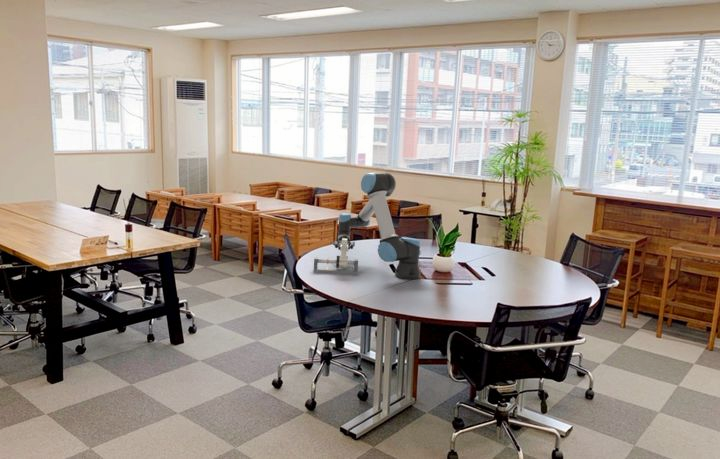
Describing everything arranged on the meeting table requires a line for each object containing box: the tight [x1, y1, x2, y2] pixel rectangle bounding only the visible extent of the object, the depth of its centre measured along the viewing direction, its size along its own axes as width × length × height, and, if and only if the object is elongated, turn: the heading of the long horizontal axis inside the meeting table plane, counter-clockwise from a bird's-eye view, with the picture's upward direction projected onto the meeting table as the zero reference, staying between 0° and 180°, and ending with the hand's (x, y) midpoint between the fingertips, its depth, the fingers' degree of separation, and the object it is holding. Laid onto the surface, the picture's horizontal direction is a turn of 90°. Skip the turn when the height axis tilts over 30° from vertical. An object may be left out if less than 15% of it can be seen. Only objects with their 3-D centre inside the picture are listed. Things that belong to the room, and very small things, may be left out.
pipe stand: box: [312, 257, 359, 276], centre depth 348 cm, size 26×10×8 cm, turn 92°
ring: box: [335, 255, 340, 268], centre depth 348 cm, size 2×7×7 cm, turn 2°
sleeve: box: [338, 238, 349, 268], centre depth 347 cm, size 5×7×18 cm
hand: (344, 249), depth 341 cm, fingers closed on sleeve, 3 cm apart
